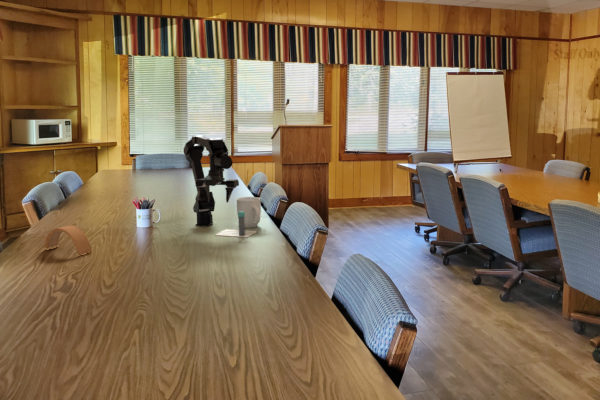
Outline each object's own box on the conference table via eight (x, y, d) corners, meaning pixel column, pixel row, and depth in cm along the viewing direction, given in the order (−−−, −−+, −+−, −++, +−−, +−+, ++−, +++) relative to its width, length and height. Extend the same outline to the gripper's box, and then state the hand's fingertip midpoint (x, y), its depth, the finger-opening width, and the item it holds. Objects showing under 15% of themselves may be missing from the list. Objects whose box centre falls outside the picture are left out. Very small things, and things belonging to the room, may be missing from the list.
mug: (269, 228, 248) (269, 200, 245) (248, 231, 242) (247, 202, 239) (254, 222, 260) (253, 195, 258) (233, 225, 254) (232, 198, 252)
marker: (237, 235, 234) (237, 212, 232) (240, 234, 236) (239, 211, 235) (243, 235, 233) (243, 212, 231) (246, 234, 235) (245, 211, 234)
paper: (215, 235, 235) (215, 234, 235) (225, 229, 246) (225, 229, 246) (247, 237, 231) (247, 236, 231) (256, 231, 242) (256, 230, 242)
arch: (57, 247, 220) (55, 223, 218) (91, 253, 210) (89, 228, 209) (44, 250, 215) (42, 226, 213) (79, 257, 205) (76, 231, 204)
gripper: (188, 168, 235) (190, 204, 238) (228, 169, 230) (230, 206, 233) (200, 166, 246) (201, 200, 248) (238, 166, 240) (239, 201, 243)
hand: (217, 202), depth 243 cm, fingers open, 9 cm apart
